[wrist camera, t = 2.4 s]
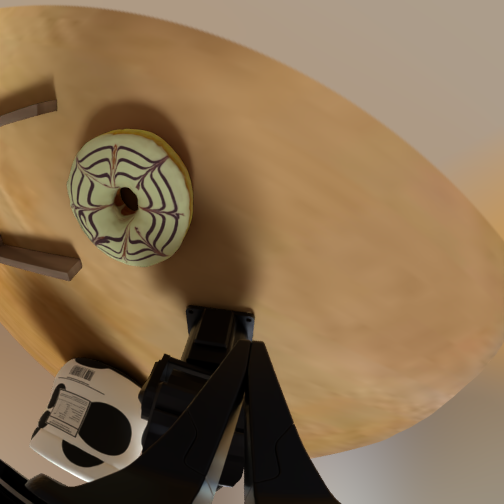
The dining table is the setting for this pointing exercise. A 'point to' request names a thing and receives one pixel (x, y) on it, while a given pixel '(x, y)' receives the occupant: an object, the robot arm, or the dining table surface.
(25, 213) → the dining table surface
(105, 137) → the decorated donut
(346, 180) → the dining table surface
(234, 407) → the robot arm
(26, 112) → the u-shaped brown rail
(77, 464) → the milk container
